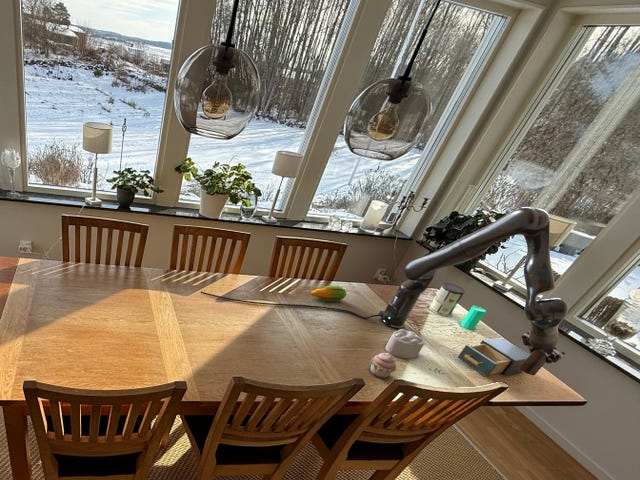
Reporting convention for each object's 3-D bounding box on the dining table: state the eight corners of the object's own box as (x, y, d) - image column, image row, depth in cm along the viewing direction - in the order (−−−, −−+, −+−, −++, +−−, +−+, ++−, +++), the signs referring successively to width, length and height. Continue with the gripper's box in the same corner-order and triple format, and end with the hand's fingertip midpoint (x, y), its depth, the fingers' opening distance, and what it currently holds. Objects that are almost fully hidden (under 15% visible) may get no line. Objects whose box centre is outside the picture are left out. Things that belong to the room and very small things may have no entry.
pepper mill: (529, 376, 155) (555, 346, 147) (516, 367, 159) (540, 338, 151) (538, 374, 157) (563, 345, 148) (524, 366, 160) (548, 337, 152)
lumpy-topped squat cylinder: (420, 357, 171) (430, 341, 166) (395, 358, 168) (405, 342, 163) (403, 343, 179) (412, 327, 174) (379, 344, 176) (388, 328, 171)
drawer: (479, 378, 162) (489, 365, 159) (451, 358, 172) (459, 345, 169) (503, 373, 168) (513, 361, 164) (475, 354, 178) (483, 342, 174)
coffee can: (440, 306, 216) (454, 283, 208) (454, 316, 208) (470, 293, 200) (424, 305, 214) (438, 282, 206) (438, 316, 206) (453, 292, 198)
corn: (352, 290, 200) (317, 289, 196) (347, 303, 204) (312, 303, 200) (344, 284, 207) (309, 283, 202) (339, 297, 210) (305, 296, 206)
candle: (476, 330, 198) (490, 310, 191) (463, 328, 198) (477, 307, 192) (470, 324, 203) (484, 304, 196) (458, 321, 203) (471, 301, 197)
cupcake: (364, 362, 163) (375, 343, 157) (388, 369, 161) (399, 349, 155) (367, 376, 155) (378, 356, 149) (392, 383, 153) (405, 363, 148)
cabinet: (503, 376, 167) (515, 360, 163) (471, 355, 178) (482, 340, 174) (521, 372, 171) (534, 357, 167) (489, 352, 182) (500, 337, 178)
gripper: (514, 330, 150) (514, 351, 160) (555, 353, 139) (552, 375, 150) (532, 317, 149) (531, 340, 159) (574, 340, 138) (570, 362, 148)
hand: (541, 357), depth 154 cm, fingers closed on pepper mill, 5 cm apart
